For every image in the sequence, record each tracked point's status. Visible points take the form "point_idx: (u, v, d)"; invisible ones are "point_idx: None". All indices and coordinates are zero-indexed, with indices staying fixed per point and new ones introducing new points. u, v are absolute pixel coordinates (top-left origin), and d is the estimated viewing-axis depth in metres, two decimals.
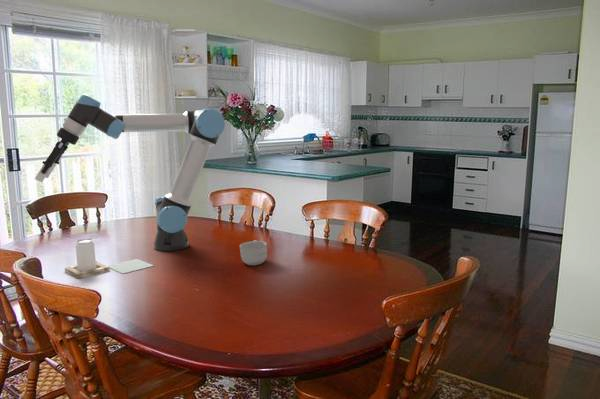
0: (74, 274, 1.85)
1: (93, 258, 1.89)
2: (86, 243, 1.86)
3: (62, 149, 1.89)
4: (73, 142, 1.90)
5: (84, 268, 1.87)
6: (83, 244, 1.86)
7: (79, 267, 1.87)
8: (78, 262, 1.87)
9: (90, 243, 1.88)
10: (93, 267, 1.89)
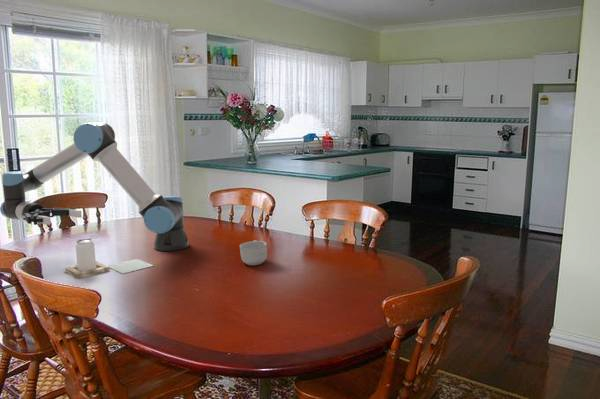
0: (74, 274, 1.85)
1: (93, 258, 1.89)
2: (86, 243, 1.86)
3: (34, 212, 1.95)
4: (29, 206, 1.98)
5: (84, 268, 1.87)
6: (83, 244, 1.86)
7: (79, 267, 1.87)
8: (78, 262, 1.87)
9: (90, 243, 1.88)
10: (93, 267, 1.89)
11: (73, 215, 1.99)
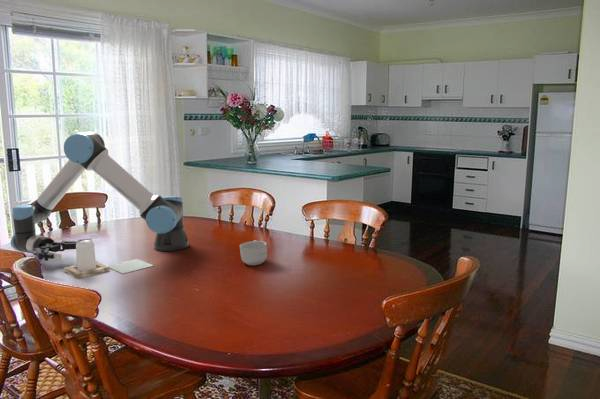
0: (74, 274, 1.85)
1: (93, 258, 1.89)
2: (86, 243, 1.86)
3: (45, 247, 1.95)
4: (40, 241, 1.97)
5: (84, 268, 1.87)
6: (83, 244, 1.86)
7: (79, 267, 1.87)
8: (78, 262, 1.87)
9: (90, 243, 1.88)
10: (93, 267, 1.89)
11: None
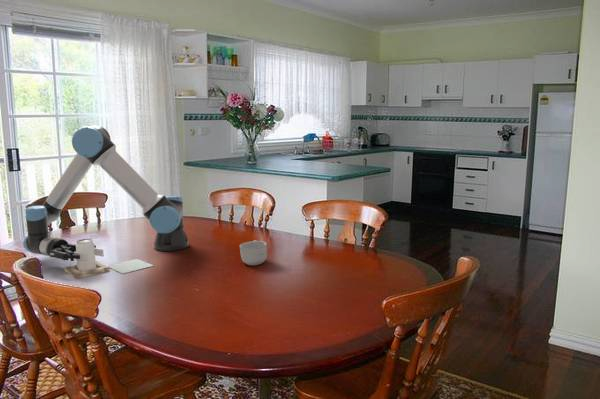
0: (74, 274, 1.85)
1: (93, 258, 1.89)
2: (86, 243, 1.86)
3: (59, 249, 1.92)
4: (53, 242, 1.94)
5: (84, 268, 1.87)
6: (83, 244, 1.86)
7: (79, 267, 1.87)
8: (78, 262, 1.87)
9: (90, 243, 1.88)
10: (93, 267, 1.89)
11: None
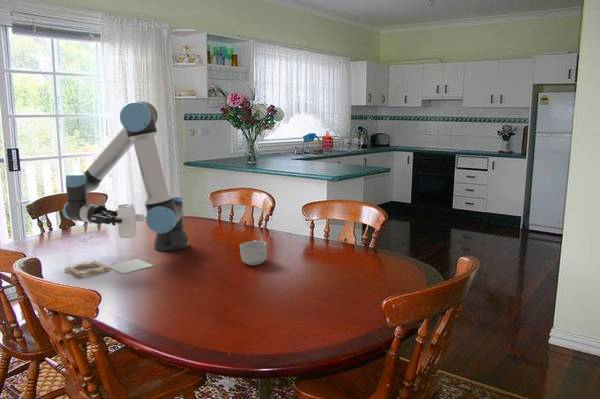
0: (74, 274, 1.85)
1: (134, 223, 1.92)
2: (128, 207, 1.90)
3: (100, 214, 1.95)
4: (94, 208, 1.97)
5: (125, 232, 1.90)
6: (125, 208, 1.89)
7: (120, 231, 1.91)
8: (119, 226, 1.91)
9: (131, 208, 1.91)
10: (134, 232, 1.92)
11: (135, 219, 1.95)
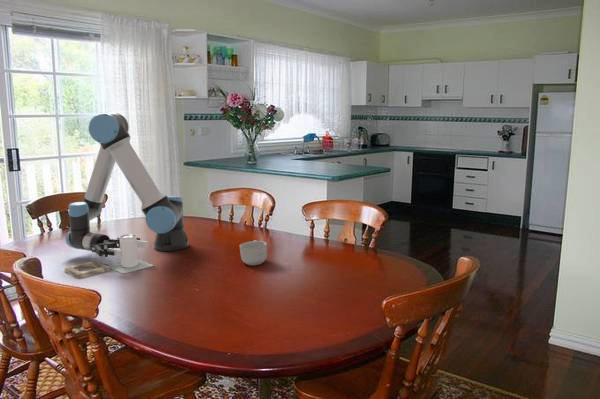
0: (74, 274, 1.85)
1: (136, 253, 1.94)
2: (130, 238, 1.92)
3: (103, 244, 1.97)
4: (97, 238, 1.99)
5: (127, 263, 1.93)
6: (127, 239, 1.91)
7: (123, 262, 1.93)
8: (122, 257, 1.93)
9: (133, 238, 1.93)
10: (136, 262, 1.95)
11: (140, 246, 2.01)
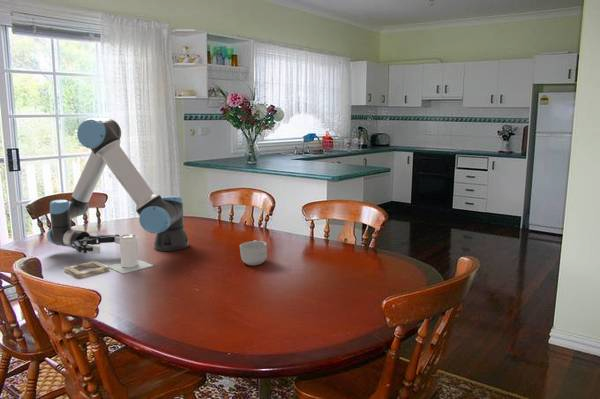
0: (74, 274, 1.85)
1: (136, 253, 1.94)
2: (130, 238, 1.92)
3: (83, 240, 2.02)
4: (77, 234, 2.05)
5: (127, 263, 1.93)
6: (127, 239, 1.91)
7: (123, 262, 1.93)
8: (122, 257, 1.93)
9: (133, 238, 1.93)
10: (136, 262, 1.95)
11: (119, 242, 2.06)
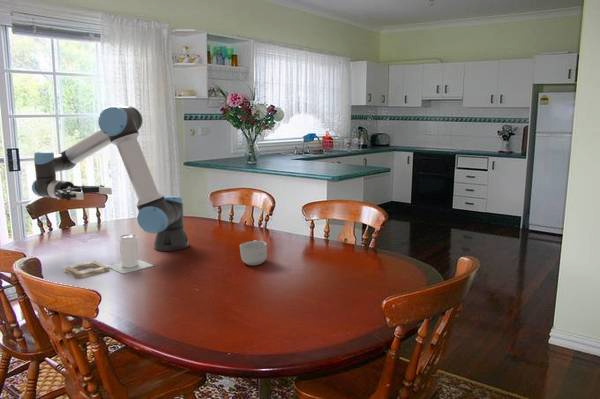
0: (74, 274, 1.85)
1: (136, 253, 1.94)
2: (130, 238, 1.92)
3: (67, 189, 2.02)
4: (61, 184, 2.04)
5: (127, 263, 1.93)
6: (127, 239, 1.91)
7: (123, 262, 1.93)
8: (122, 257, 1.93)
9: (133, 238, 1.93)
10: (136, 262, 1.95)
11: (103, 192, 2.06)
